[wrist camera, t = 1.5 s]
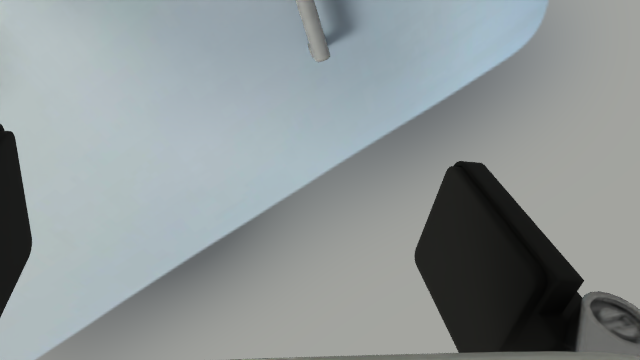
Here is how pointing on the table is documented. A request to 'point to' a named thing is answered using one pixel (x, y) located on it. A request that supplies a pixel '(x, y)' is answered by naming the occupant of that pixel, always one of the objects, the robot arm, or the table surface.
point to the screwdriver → (313, 30)
